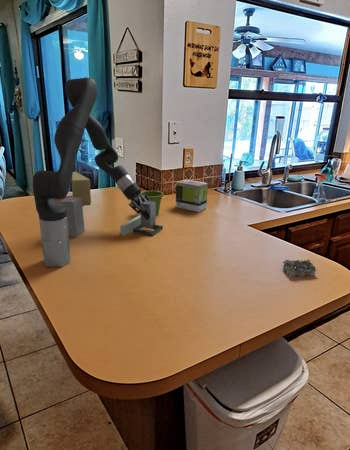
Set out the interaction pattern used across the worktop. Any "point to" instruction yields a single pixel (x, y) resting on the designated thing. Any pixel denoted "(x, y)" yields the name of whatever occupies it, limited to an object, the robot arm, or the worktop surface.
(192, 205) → the tea box
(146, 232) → the frame
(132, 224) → the door edge
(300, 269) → the egg carton
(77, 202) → the skincare box
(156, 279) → the worktop surface
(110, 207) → the worktop surface
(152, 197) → the plant pot
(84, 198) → the cheese
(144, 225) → the block
